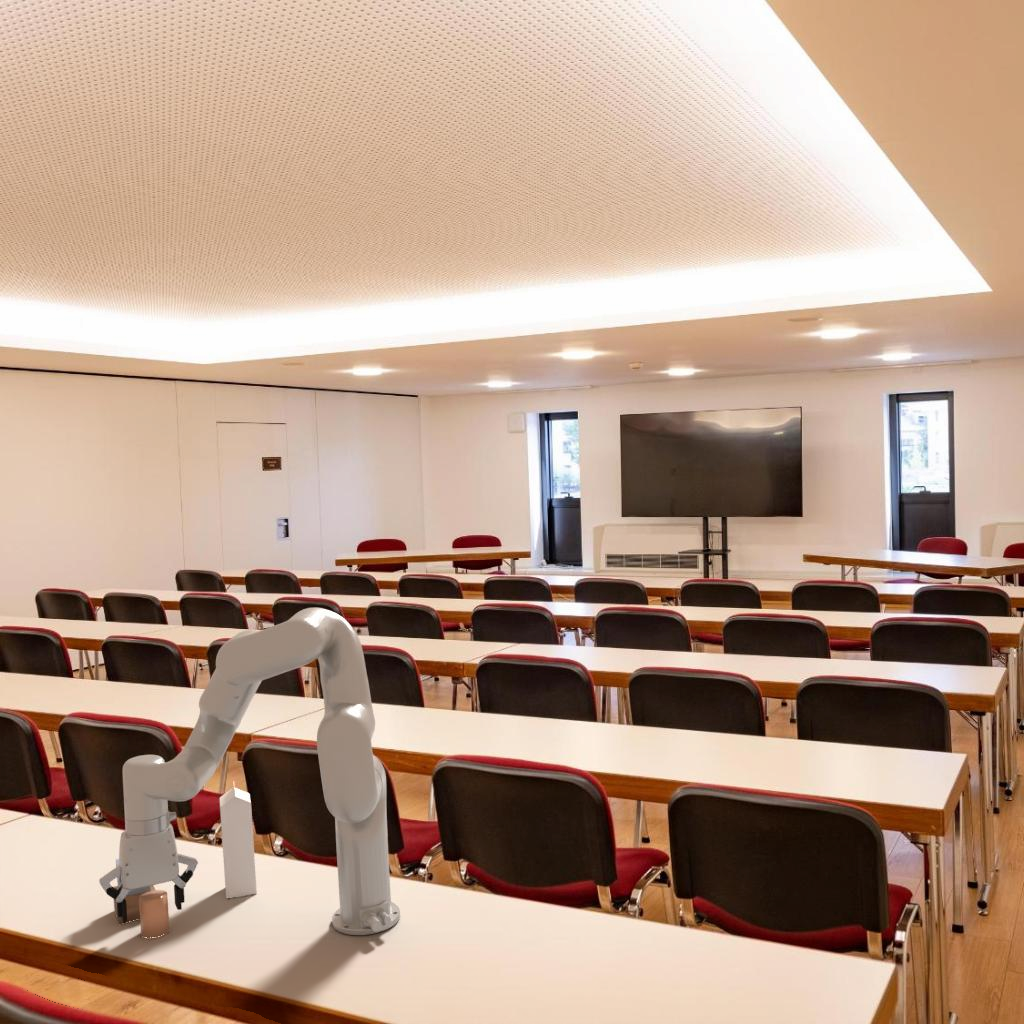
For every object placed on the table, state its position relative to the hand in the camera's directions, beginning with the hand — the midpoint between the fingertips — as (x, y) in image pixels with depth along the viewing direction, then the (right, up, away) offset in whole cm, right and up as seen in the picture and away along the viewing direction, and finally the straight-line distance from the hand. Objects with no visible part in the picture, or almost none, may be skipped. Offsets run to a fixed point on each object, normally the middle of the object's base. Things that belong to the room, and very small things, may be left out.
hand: (151, 913), depth 186 cm
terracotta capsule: (+1, -4, 0) cm, 4 cm away
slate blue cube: (-7, +1, +9) cm, 11 cm away
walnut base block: (-6, -4, +9) cm, 11 cm away
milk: (+12, -2, +17) cm, 21 cm away
